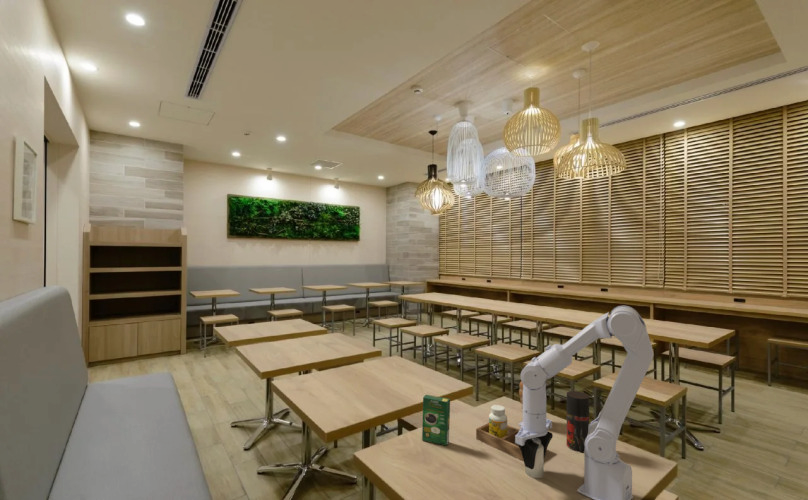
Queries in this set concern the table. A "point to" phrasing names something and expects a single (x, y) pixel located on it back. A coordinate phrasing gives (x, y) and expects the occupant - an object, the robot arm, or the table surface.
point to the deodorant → (577, 420)
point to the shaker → (537, 462)
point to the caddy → (500, 440)
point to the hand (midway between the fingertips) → (534, 463)
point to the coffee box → (436, 419)
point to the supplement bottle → (498, 421)
